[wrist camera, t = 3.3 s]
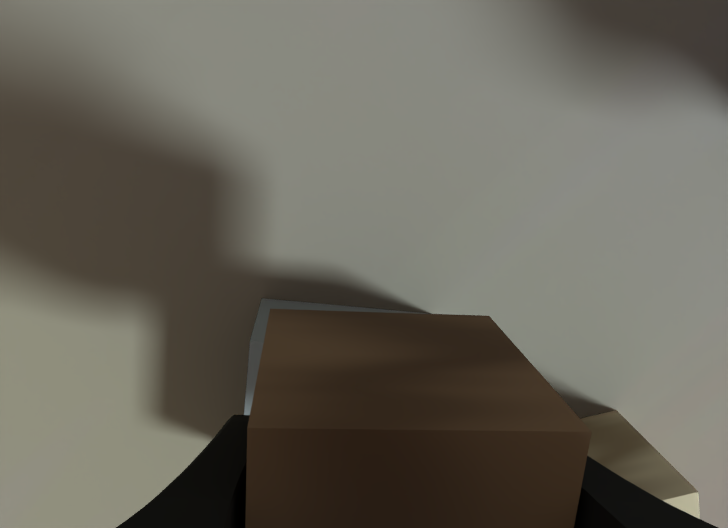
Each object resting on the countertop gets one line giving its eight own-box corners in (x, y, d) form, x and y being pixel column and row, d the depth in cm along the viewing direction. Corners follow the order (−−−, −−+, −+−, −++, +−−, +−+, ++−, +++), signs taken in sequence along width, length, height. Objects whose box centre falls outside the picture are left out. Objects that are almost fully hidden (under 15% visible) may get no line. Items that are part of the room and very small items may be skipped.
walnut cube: (489, 315, 13) (591, 431, 8) (464, 502, 15) (542, 695, 10) (270, 308, 13) (247, 427, 8) (264, 503, 14) (241, 708, 9)
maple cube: (615, 409, 22) (698, 491, 17) (625, 515, 24) (704, 619, 19) (489, 438, 22) (538, 529, 17) (507, 543, 23) (556, 655, 19)
